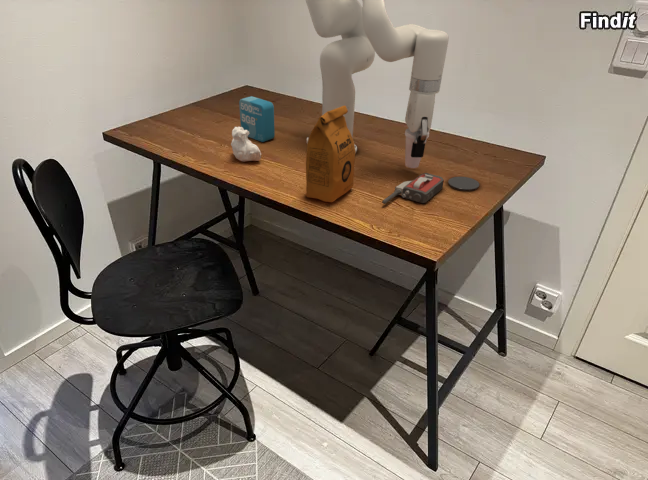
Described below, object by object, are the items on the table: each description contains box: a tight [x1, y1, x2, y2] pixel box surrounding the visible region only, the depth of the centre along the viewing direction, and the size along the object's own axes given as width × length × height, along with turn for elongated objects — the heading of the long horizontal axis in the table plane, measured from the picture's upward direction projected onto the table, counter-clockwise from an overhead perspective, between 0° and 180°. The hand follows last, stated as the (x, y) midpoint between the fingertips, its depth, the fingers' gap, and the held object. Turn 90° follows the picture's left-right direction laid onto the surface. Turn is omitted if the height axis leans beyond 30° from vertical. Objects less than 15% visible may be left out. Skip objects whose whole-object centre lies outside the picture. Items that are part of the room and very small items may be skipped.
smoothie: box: [404, 127, 430, 169], centre depth 139 cm, size 6×6×14 cm
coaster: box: [447, 176, 480, 192], centre depth 138 cm, size 8×8×1 cm
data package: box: [238, 95, 276, 143], centre depth 167 cm, size 12×4×12 cm, turn 44°
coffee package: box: [305, 106, 356, 203], centre depth 129 cm, size 10×12×22 cm
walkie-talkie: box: [381, 172, 445, 205], centre depth 132 cm, size 9×4×20 cm
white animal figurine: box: [230, 126, 262, 163], centre depth 152 cm, size 12×8×11 cm
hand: (414, 151), depth 140 cm, fingers closed on smoothie, 6 cm apart
